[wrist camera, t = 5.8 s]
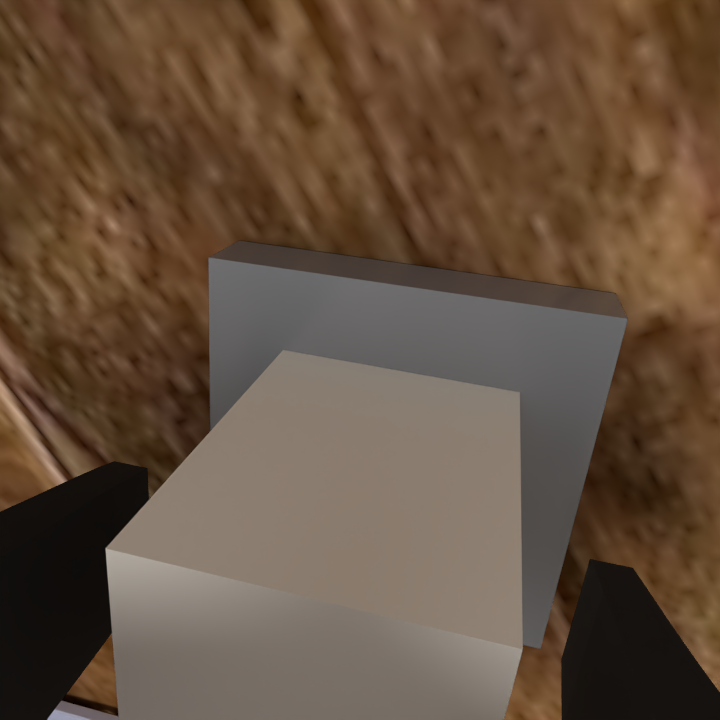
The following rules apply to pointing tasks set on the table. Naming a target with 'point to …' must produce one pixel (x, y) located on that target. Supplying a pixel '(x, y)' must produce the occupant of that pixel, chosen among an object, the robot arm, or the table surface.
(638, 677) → the robot arm
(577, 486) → the slate base
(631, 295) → the table surface
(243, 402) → the cream block
